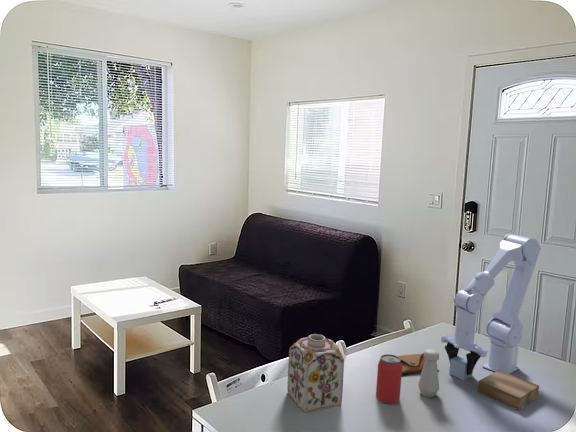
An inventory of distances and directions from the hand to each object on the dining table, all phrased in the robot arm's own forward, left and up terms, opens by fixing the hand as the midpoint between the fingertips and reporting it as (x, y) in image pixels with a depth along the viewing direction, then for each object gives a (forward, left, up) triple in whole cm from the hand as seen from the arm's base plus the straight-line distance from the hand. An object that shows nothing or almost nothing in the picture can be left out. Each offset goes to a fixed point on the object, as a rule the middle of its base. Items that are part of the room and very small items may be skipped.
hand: (461, 370), depth 152 cm
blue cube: (0, 0, -1) cm, 1 cm away
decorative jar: (+48, -16, -2) cm, 51 cm away
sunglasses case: (+10, -12, -2) cm, 16 cm away
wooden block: (0, +15, -2) cm, 15 cm away
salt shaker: (+19, +1, -2) cm, 19 cm away
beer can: (+31, -4, -2) cm, 31 cm away
